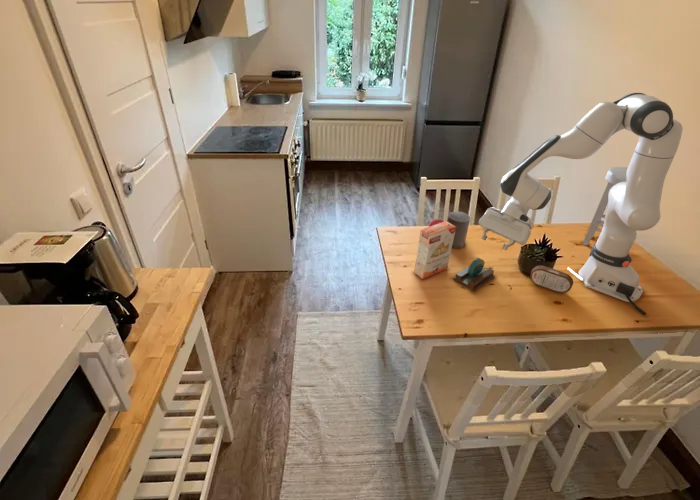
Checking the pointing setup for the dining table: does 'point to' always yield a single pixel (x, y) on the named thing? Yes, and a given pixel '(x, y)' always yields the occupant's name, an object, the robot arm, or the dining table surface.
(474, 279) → the stand
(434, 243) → the cracker box
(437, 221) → the lollipop
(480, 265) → the disc
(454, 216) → the pillar candle
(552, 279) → the tin
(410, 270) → the dining table surface
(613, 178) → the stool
